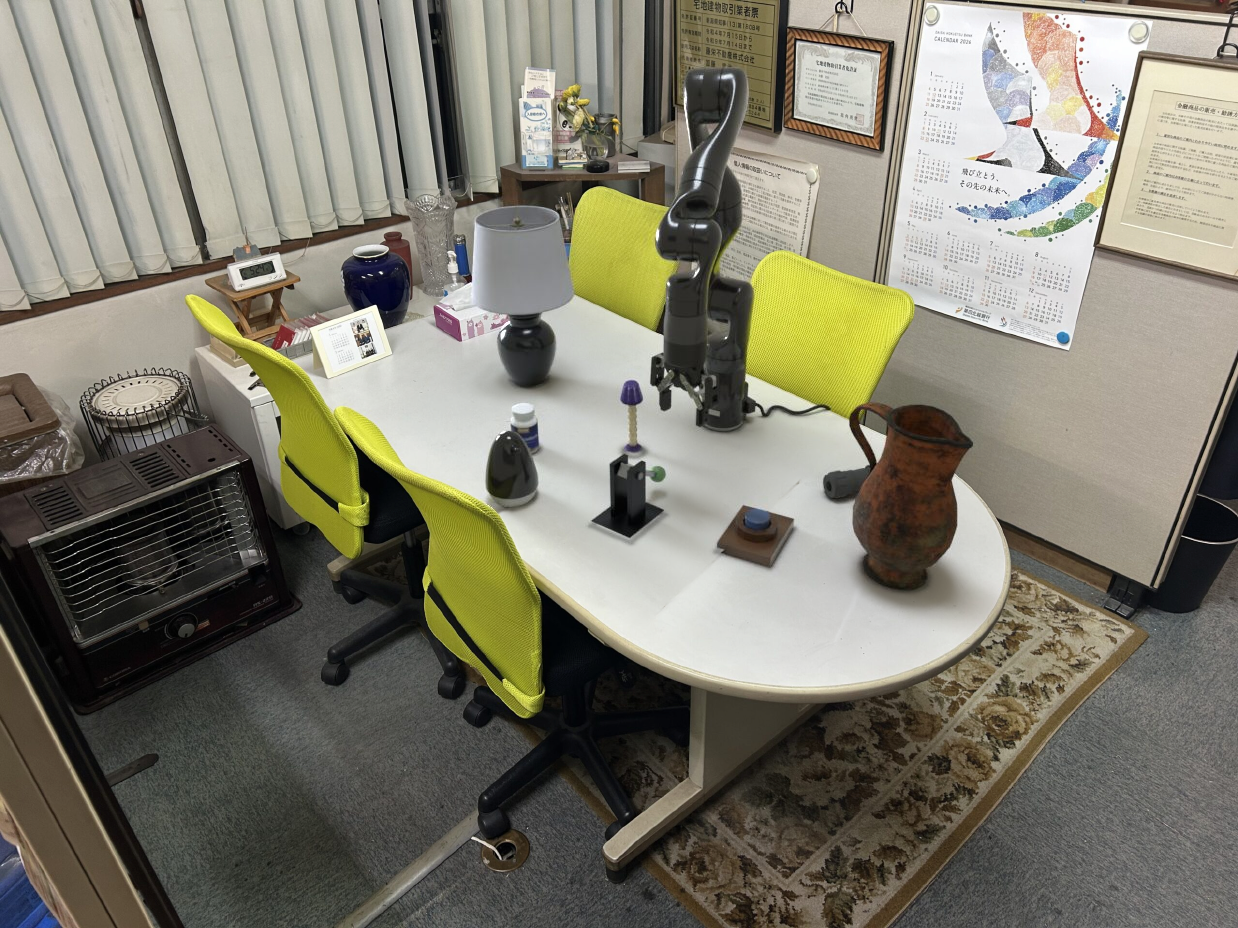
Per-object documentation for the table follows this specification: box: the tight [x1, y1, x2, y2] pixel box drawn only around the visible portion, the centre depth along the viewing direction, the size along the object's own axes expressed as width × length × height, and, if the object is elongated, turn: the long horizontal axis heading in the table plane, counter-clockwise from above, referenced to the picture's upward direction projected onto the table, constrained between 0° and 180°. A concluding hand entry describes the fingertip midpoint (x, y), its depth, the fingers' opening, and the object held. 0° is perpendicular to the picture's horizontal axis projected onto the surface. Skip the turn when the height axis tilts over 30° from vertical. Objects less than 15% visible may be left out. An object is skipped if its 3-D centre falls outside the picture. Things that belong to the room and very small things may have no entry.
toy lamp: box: [619, 379, 644, 453], centre depth 184 cm, size 5×5×17 cm
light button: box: [745, 508, 770, 530], centre depth 159 cm, size 4×4×2 cm
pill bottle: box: [510, 402, 540, 455], centre depth 188 cm, size 6×6×10 cm
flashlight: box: [822, 464, 870, 499], centre depth 174 cm, size 15×5×5 cm, turn 108°
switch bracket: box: [591, 453, 665, 539], centre depth 164 cm, size 11×9×13 cm
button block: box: [716, 504, 795, 568], centre depth 161 cm, size 13×10×4 cm
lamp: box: [470, 205, 575, 388], centre depth 208 cm, size 24×24×40 cm
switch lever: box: [617, 462, 667, 483], centre depth 166 cm, size 14×3×3 cm, turn 143°
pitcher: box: [848, 402, 974, 591], centre depth 147 cm, size 17×21×30 cm
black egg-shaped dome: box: [484, 430, 540, 508], centre depth 170 cm, size 10×10×15 cm
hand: (683, 417), depth 160 cm, fingers open, 8 cm apart
